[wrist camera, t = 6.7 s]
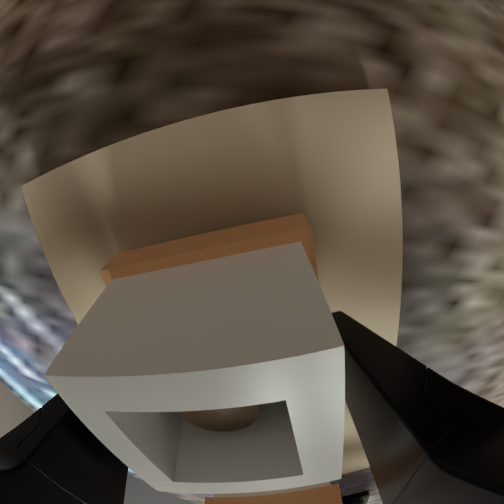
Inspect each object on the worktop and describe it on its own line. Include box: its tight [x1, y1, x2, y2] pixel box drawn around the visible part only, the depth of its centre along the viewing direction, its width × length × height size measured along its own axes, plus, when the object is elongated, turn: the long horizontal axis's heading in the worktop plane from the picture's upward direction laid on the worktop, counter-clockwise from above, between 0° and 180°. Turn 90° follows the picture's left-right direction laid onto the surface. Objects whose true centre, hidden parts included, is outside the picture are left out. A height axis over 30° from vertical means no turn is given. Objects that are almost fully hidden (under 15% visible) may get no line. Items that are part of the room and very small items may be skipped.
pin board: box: [21, 89, 403, 475], centre depth 10 cm, size 22×12×5 cm, turn 12°
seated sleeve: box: [205, 481, 343, 504], centre depth 11 cm, size 6×6×5 cm
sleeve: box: [44, 213, 345, 494], centre depth 7 cm, size 6×6×5 cm
